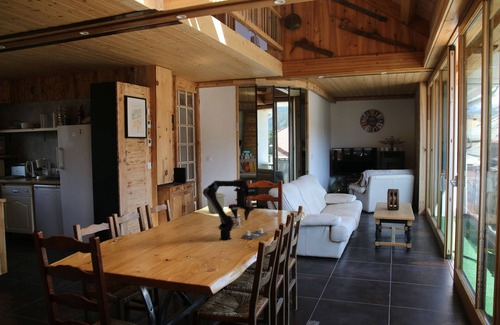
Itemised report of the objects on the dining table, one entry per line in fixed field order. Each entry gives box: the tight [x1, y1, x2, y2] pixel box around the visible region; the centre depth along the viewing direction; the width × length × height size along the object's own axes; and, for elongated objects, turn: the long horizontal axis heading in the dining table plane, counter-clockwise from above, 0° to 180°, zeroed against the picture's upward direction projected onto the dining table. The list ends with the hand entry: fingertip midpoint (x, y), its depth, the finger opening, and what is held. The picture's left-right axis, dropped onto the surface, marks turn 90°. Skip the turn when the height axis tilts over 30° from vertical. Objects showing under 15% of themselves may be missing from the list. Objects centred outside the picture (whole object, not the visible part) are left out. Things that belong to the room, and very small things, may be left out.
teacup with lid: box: [229, 213, 246, 229], centre depth 301 cm, size 12×9×12 cm
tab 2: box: [258, 228, 265, 233], centre depth 272 cm, size 3×3×3 cm
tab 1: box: [244, 230, 251, 236], centre depth 267 cm, size 3×3×3 cm
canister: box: [206, 190, 226, 215], centre depth 367 cm, size 18×18×21 cm
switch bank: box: [241, 230, 268, 241], centre depth 270 cm, size 18×9×2 cm, turn 142°
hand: (241, 219), depth 270 cm, fingers open, 8 cm apart
